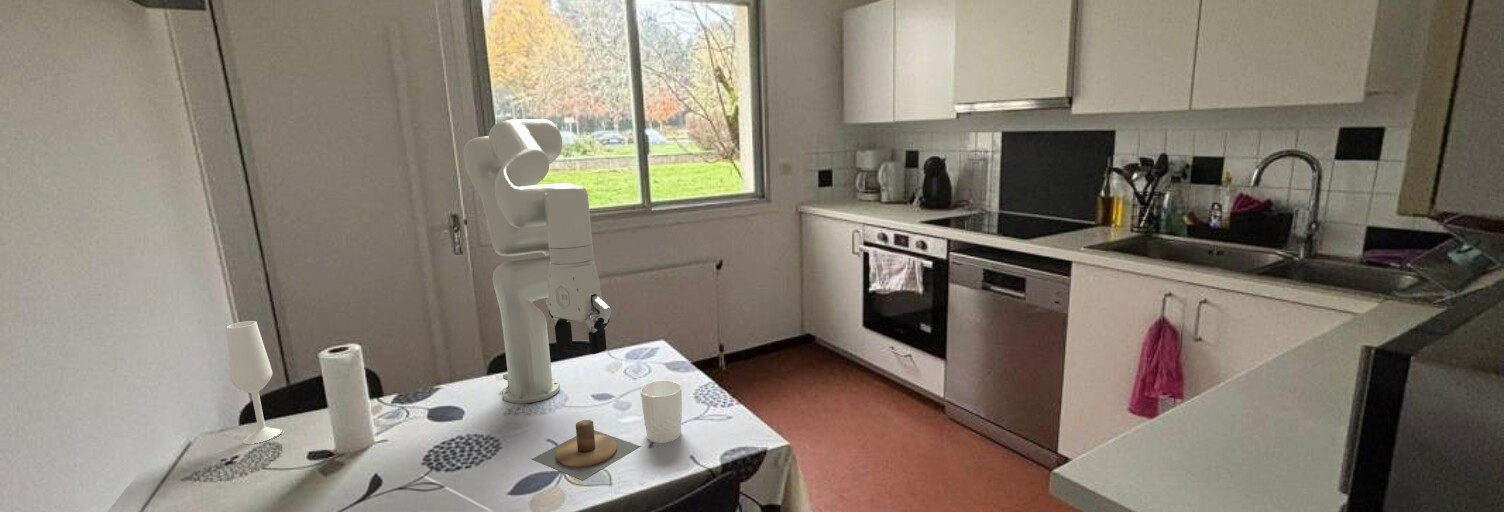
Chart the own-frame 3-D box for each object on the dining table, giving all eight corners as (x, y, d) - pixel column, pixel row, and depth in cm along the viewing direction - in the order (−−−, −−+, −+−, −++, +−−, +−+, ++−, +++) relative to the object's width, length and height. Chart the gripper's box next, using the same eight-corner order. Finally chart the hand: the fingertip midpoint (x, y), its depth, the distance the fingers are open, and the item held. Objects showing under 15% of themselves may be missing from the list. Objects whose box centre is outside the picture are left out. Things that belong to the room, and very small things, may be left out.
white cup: (676, 447, 120) (673, 397, 118) (637, 444, 121) (634, 395, 119) (689, 428, 127) (686, 381, 125) (652, 425, 129) (649, 379, 127)
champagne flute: (281, 438, 128) (260, 325, 124) (240, 447, 125) (216, 331, 121) (285, 426, 134) (265, 317, 130) (245, 434, 131) (223, 323, 126)
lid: (543, 457, 116) (540, 428, 115) (589, 433, 125) (587, 406, 124) (583, 474, 110) (581, 443, 109) (629, 447, 119) (627, 419, 118)
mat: (531, 460, 116) (531, 458, 116) (590, 430, 127) (590, 428, 127) (582, 482, 108) (582, 480, 108) (640, 448, 120) (640, 446, 120)
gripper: (525, 256, 114) (535, 346, 117) (586, 262, 104) (595, 361, 107) (559, 249, 120) (568, 336, 123) (620, 255, 110) (629, 349, 113)
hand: (581, 348), depth 115 cm, fingers open, 9 cm apart
